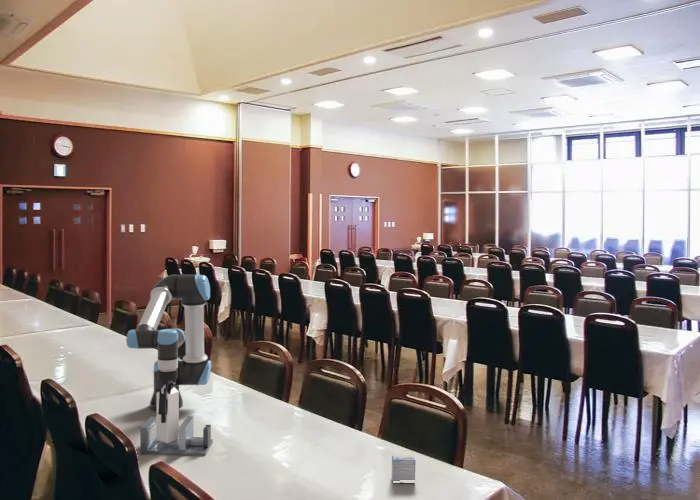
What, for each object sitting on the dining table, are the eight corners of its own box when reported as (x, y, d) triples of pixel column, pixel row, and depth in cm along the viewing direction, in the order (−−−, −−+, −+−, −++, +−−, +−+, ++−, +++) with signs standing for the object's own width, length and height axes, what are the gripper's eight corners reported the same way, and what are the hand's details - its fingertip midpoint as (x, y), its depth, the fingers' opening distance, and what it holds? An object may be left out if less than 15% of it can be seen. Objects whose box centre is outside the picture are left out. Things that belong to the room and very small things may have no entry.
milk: (156, 440, 224) (155, 385, 223) (167, 435, 229) (167, 381, 228) (168, 443, 221) (167, 387, 220) (179, 438, 227) (178, 383, 225)
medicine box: (413, 478, 203) (413, 454, 203) (415, 484, 199) (415, 459, 198) (391, 478, 203) (391, 454, 203) (392, 484, 199) (393, 459, 198)
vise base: (150, 442, 231) (150, 416, 231) (212, 442, 232) (212, 417, 231) (140, 454, 219) (140, 427, 219) (205, 455, 220) (205, 428, 219)
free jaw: (185, 438, 231) (185, 416, 231) (212, 438, 232) (212, 416, 231) (177, 450, 219) (177, 427, 219) (205, 450, 220) (205, 427, 219)
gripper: (166, 362, 234) (166, 416, 235) (149, 376, 213) (149, 436, 214) (184, 362, 234) (184, 417, 235) (169, 376, 213) (169, 436, 215)
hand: (167, 426), depth 225 cm, fingers closed on milk, 8 cm apart
